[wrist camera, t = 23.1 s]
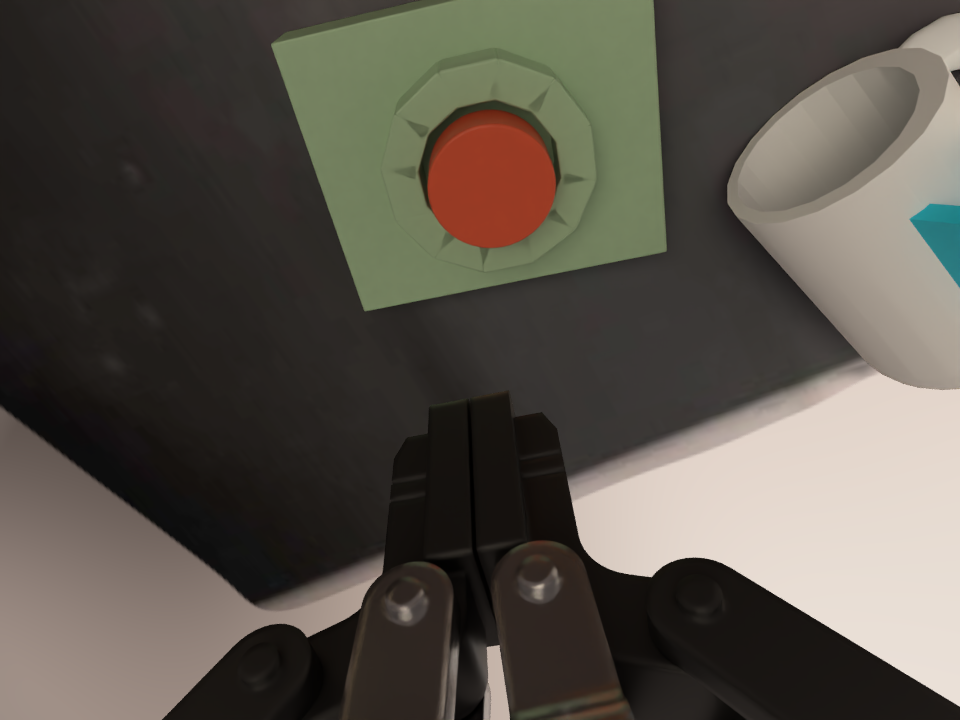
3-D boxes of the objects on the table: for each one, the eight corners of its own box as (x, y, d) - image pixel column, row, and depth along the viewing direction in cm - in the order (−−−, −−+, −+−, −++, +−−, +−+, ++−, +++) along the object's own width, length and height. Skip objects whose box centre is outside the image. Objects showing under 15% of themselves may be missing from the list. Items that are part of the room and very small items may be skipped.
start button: (444, 238, 24) (444, 259, 22) (415, 123, 21) (412, 140, 20) (557, 214, 23) (564, 235, 22) (539, 96, 21) (546, 110, 20)
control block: (369, 285, 29) (359, 336, 25) (284, 32, 23) (256, 54, 20) (653, 228, 28) (680, 273, 24) (635, -52, 22) (667, -43, 19)
